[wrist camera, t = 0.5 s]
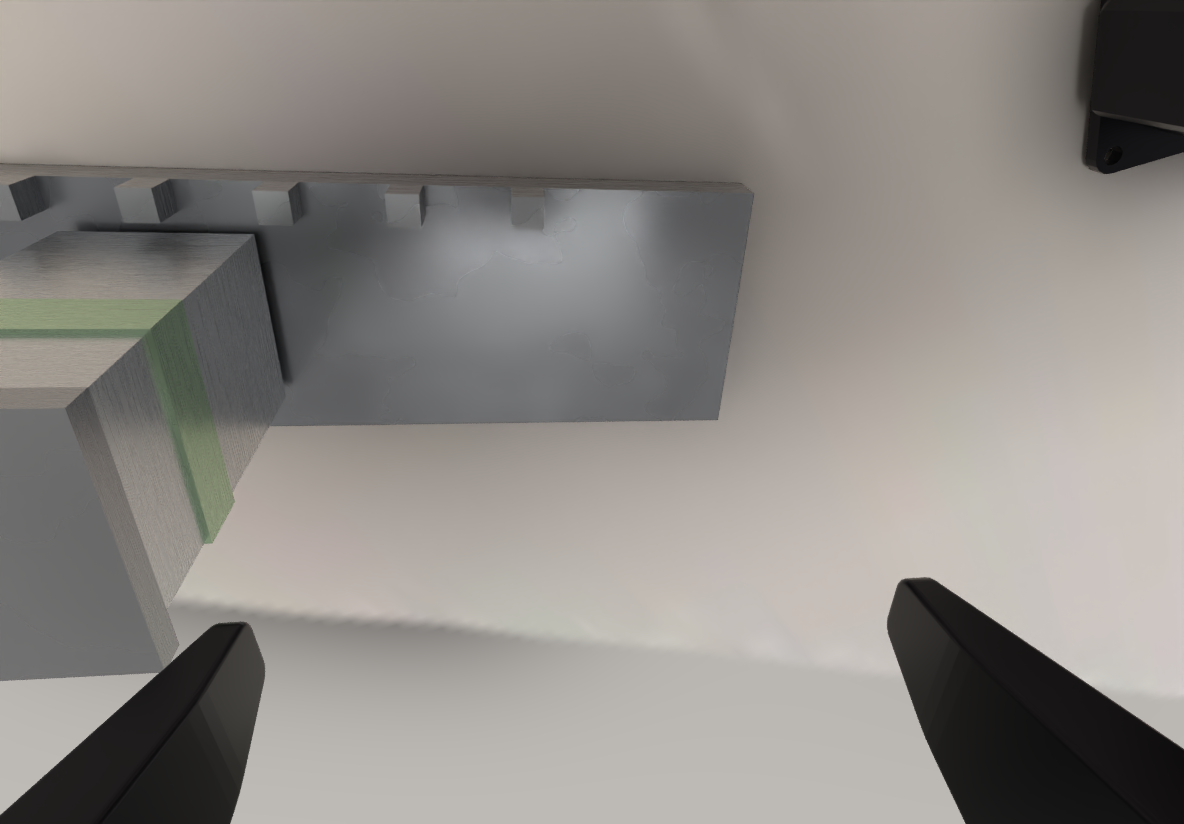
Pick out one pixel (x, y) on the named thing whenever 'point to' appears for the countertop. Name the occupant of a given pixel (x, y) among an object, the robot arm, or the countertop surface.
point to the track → (449, 284)
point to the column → (121, 436)
